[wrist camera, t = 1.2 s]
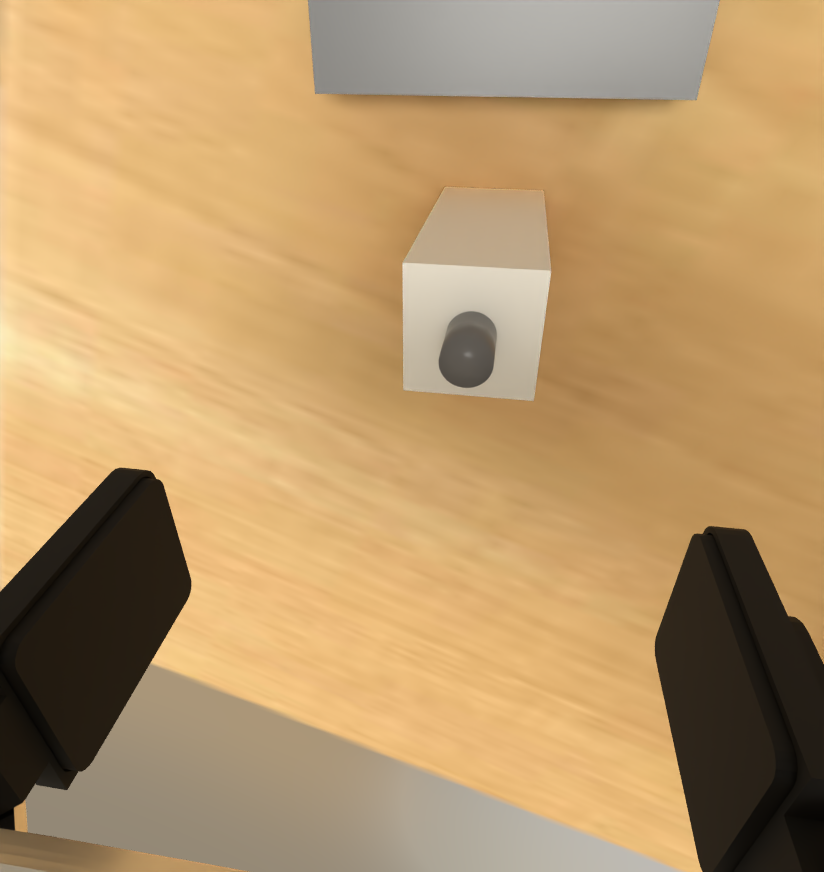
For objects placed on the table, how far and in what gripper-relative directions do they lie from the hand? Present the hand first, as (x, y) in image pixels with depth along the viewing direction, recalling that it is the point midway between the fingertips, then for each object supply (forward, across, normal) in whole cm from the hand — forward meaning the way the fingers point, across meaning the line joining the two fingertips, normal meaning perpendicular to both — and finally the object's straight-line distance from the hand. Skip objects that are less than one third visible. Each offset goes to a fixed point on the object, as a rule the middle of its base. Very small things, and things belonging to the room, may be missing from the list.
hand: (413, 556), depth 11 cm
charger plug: (+21, 0, 0) cm, 21 cm away
